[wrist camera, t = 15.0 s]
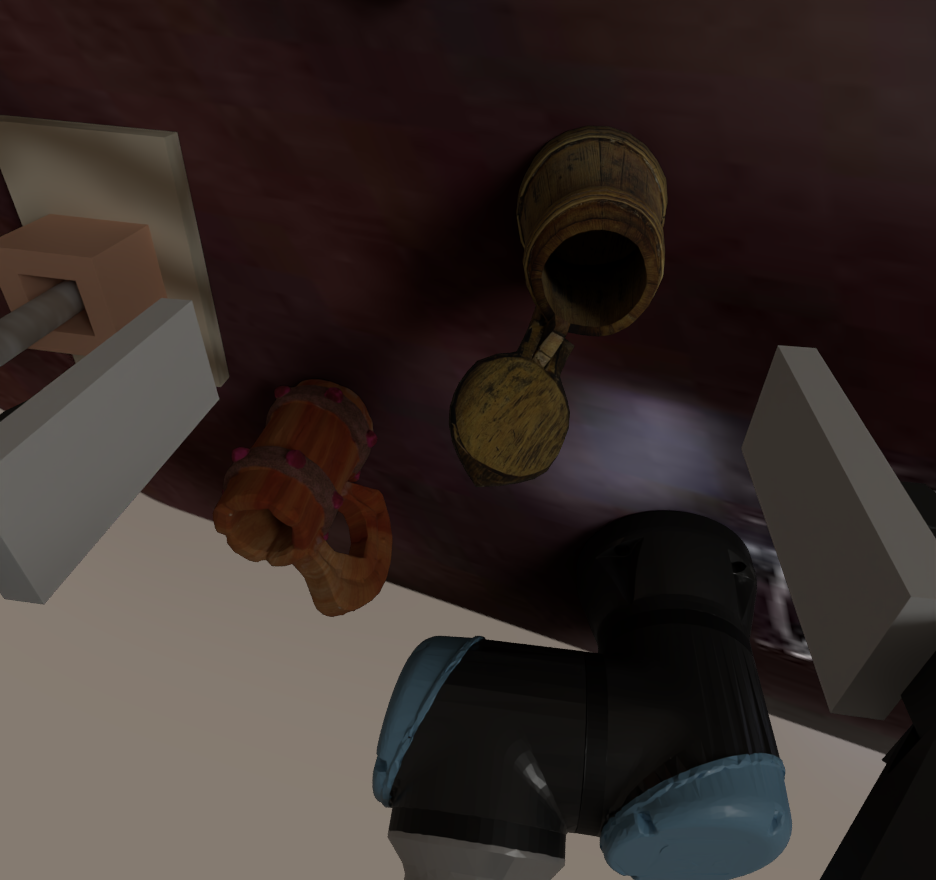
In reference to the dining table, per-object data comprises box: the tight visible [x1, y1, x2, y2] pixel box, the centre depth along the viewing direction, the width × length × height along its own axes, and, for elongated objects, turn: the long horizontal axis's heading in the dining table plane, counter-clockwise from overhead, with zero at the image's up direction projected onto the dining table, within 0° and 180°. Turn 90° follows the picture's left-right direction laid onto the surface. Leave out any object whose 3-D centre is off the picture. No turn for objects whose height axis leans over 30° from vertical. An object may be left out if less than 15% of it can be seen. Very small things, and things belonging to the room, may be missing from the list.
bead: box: [0, 214, 167, 356], centre depth 41 cm, size 7×7×6 cm
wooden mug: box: [449, 126, 667, 487], centre depth 32 cm, size 9×14×18 cm, turn 149°
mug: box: [213, 379, 392, 617], centre depth 45 cm, size 15×8×15 cm, turn 34°
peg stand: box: [0, 115, 229, 387], centre depth 39 cm, size 18×12×14 cm, turn 177°
